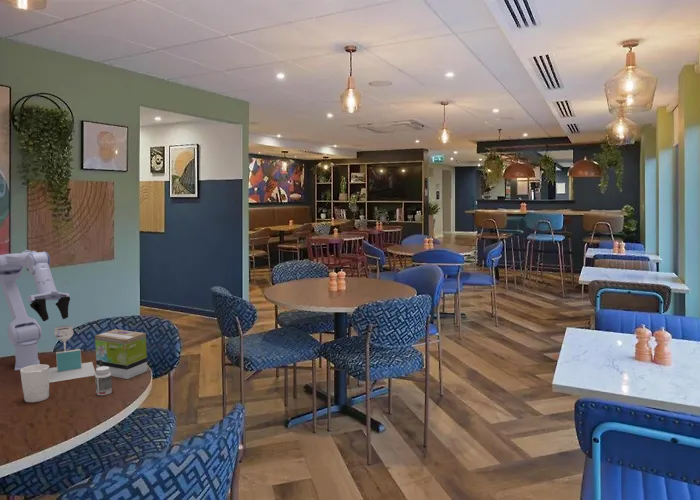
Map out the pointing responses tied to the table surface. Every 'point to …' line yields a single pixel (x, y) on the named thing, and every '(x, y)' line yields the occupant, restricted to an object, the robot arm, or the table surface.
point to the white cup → (35, 382)
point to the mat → (72, 373)
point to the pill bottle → (103, 381)
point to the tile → (68, 360)
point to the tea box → (122, 352)
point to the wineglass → (63, 334)
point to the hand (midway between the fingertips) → (56, 319)
